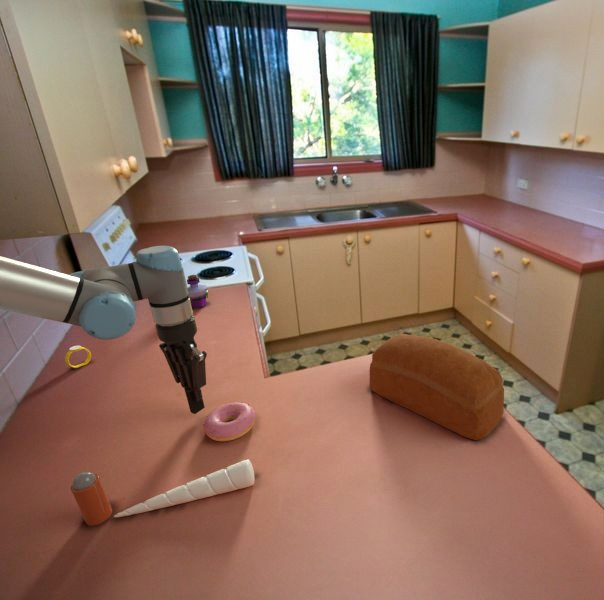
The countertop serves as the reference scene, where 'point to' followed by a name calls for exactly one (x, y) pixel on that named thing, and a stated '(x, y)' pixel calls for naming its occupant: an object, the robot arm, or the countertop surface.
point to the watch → (74, 349)
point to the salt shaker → (91, 498)
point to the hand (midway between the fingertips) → (197, 409)
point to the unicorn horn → (200, 488)
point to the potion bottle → (196, 292)
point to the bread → (439, 383)
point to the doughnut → (231, 429)
